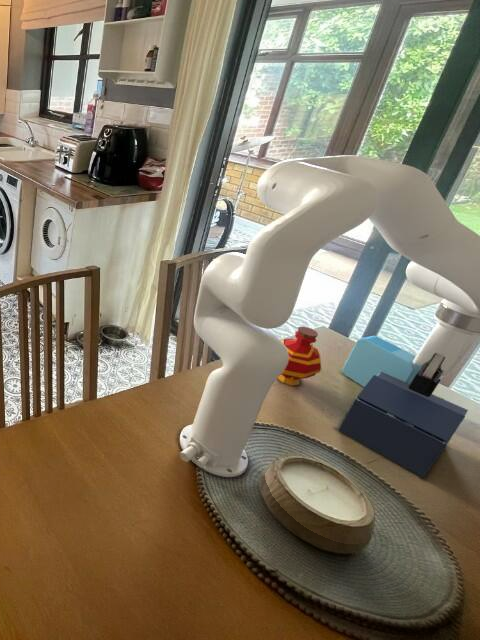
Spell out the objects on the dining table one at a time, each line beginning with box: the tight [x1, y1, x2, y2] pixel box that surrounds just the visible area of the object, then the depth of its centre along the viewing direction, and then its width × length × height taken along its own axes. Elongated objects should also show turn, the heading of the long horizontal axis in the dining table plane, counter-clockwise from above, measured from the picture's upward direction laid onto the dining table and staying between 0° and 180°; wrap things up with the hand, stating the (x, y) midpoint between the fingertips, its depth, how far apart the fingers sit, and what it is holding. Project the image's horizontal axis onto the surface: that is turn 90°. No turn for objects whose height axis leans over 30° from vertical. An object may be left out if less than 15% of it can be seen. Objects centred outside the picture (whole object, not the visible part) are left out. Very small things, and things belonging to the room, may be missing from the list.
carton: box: [338, 372, 469, 479], centre depth 88 cm, size 15×14×10 cm
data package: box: [342, 335, 423, 388], centre depth 102 cm, size 12×4×12 cm, turn 16°
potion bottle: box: [277, 326, 322, 386], centre depth 104 cm, size 10×10×15 cm
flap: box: [356, 375, 466, 443], centre depth 83 cm, size 7×14×1 cm, turn 32°
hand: (419, 391), depth 85 cm, fingers closed
